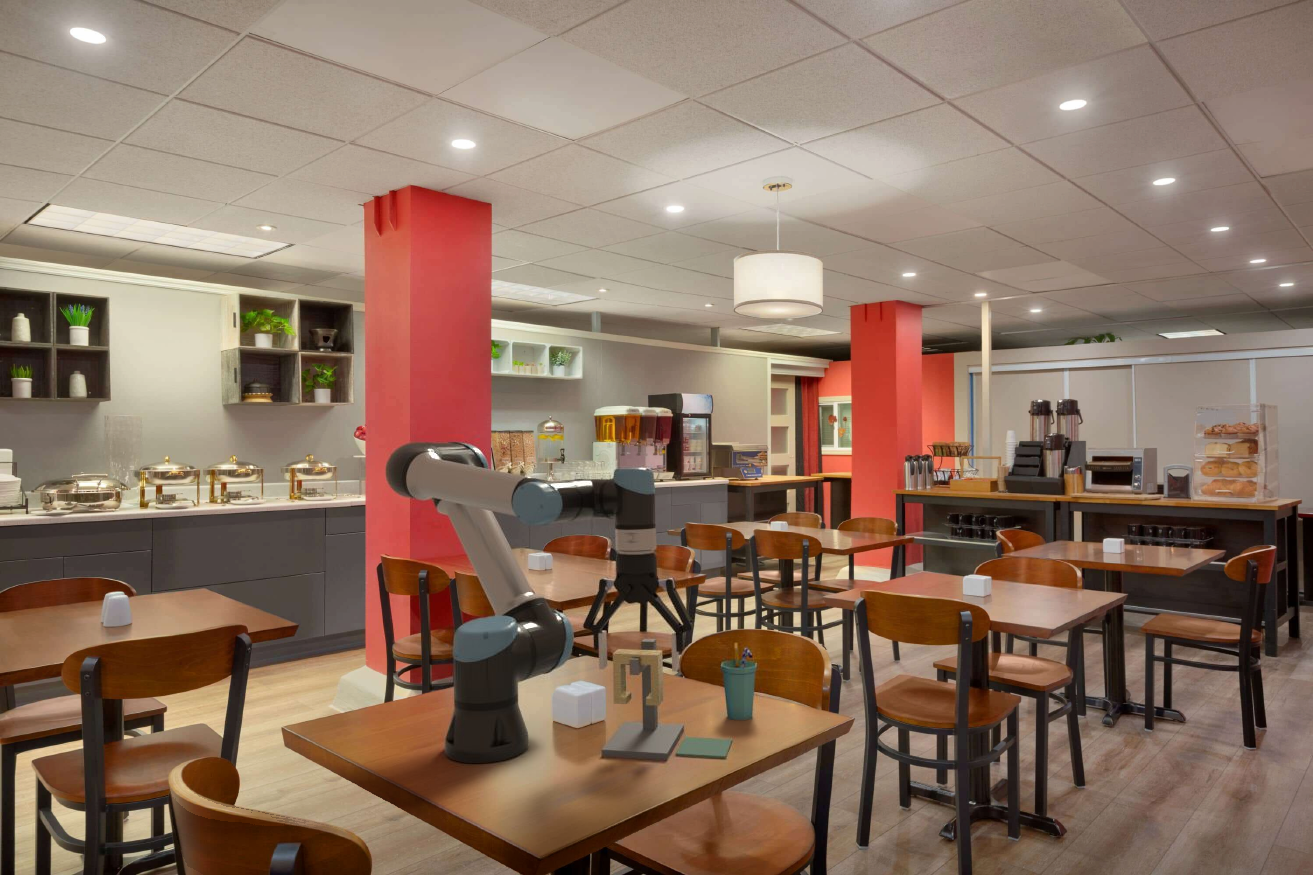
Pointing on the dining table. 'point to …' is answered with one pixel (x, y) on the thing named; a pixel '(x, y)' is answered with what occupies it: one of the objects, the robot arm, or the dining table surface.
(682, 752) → the mat
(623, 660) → the c link
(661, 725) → the stand
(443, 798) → the dining table surface
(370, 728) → the dining table surface
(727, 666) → the cup
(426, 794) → the dining table surface
